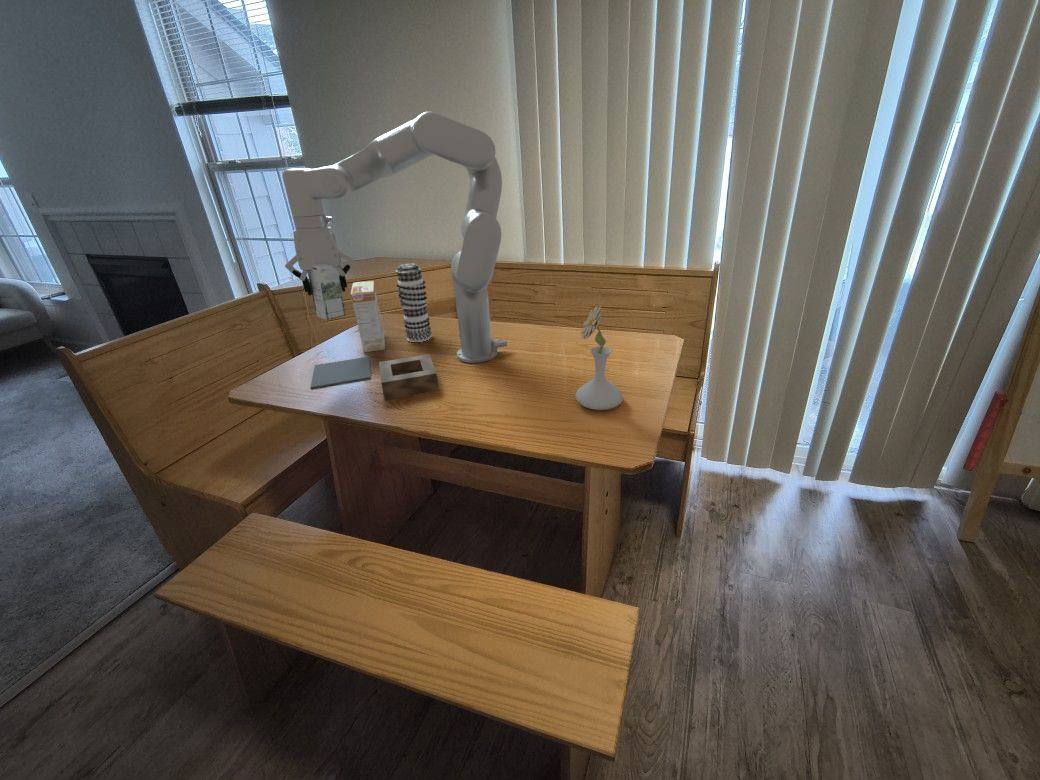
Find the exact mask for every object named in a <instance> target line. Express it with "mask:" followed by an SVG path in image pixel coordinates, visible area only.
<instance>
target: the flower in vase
mask: <svg viewBox="0 0 1040 780" xmlns="http://www.w3.org/2000/svg"><path fill="white" fill-rule="evenodd" d="M588 313H589V315H588V317H587V319H586V320H585V321H584V322H583V326H584V327H583V328H582V330H581V331H580V335H582V336H581V339H584V340H585V339H586V340H587V339H589V338H590V337H591V336H592V335H593V333H594V332H595V330H597V331H598V332H597V333H596V335H595V338H594V341H595V342H596V343H597V344H598V345H597V346H592V347H591V348H590V349H589V352H590V353H591V355H592V357H593V359H594V368H595V369H594V377H593V379H591V380H590V381H588V382H586V383H585V384H583V385H582V386H581V387H580V388H578V389H577V391H576V392H575V396H574V398H575V399H576V401H577V402H578V403H579V404H580V405H581V406H582V407H585V408H587V409H589V410H595V411H596V410H597V411H601V410H602V411H603V410H604V411H605V410H610V409H613V408H616V407H618V406H619V405H620V404H622V402H623V400H624V394H623V393H622V391H621V390H620V389H619V388H618V387H617V386H616V385H615V384H613V383H612V382H610V381H608V380H607V378H606V374H605V373H606V363H607V360H608V357H609V356H610V354H611V353H612V352H613V350H612V348H611V347H609V346H605V344H606V342H607V341H606V339H605V338H604V336H603V335H602V334H603V333H602V332H601V329H600V327H599V324H600V321H601V319H602V314H603V308H602V306H601V305H600V306H599V307H598V305H596V306H595V307H594V308H593V310H590V311H589V312H588Z"/></svg>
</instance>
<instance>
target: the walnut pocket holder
mask: <svg viewBox="0 0 1040 780" xmlns="http://www.w3.org/2000/svg"><path fill="white" fill-rule="evenodd" d="M433 363H434V362H433V361H432V358H431V355H430V354H429V353H428V354H421V355H416V356H415V355H413V356H408V357H402V358H397V359H396V358H395V359H391V360H385V361H379V362H378V366H379V374H380V375H379V376H380V384H381V387H382V392H383V398H384V401H388V400H394V399H399V398H405V397H409V396H415V394H416V395H421V394H420V393H422V394H426V392H427V393H433V392H438V391H440V389H439V387H440V386H439V380H438V374H437V371H436V368H435V366H434V364H433Z"/></svg>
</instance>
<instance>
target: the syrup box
mask: <svg viewBox="0 0 1040 780" xmlns="http://www.w3.org/2000/svg"><path fill="white" fill-rule="evenodd" d="M339 275H340V274H339V273H338V272H337V268H332V266H331V265H328V264H313V270H312V271H308V273H307V277H308V279H309V282H310V287H311V291H312V295H311V296H312V300H313V307H314V311H315V315H316V317H317V318H319V319H322V320H326V321H328V320H333V319H338V318H341V317H346V310H345V303H344V298H343V297H344V296H343V291H342V288H341V283H340V279H339Z"/></svg>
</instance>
